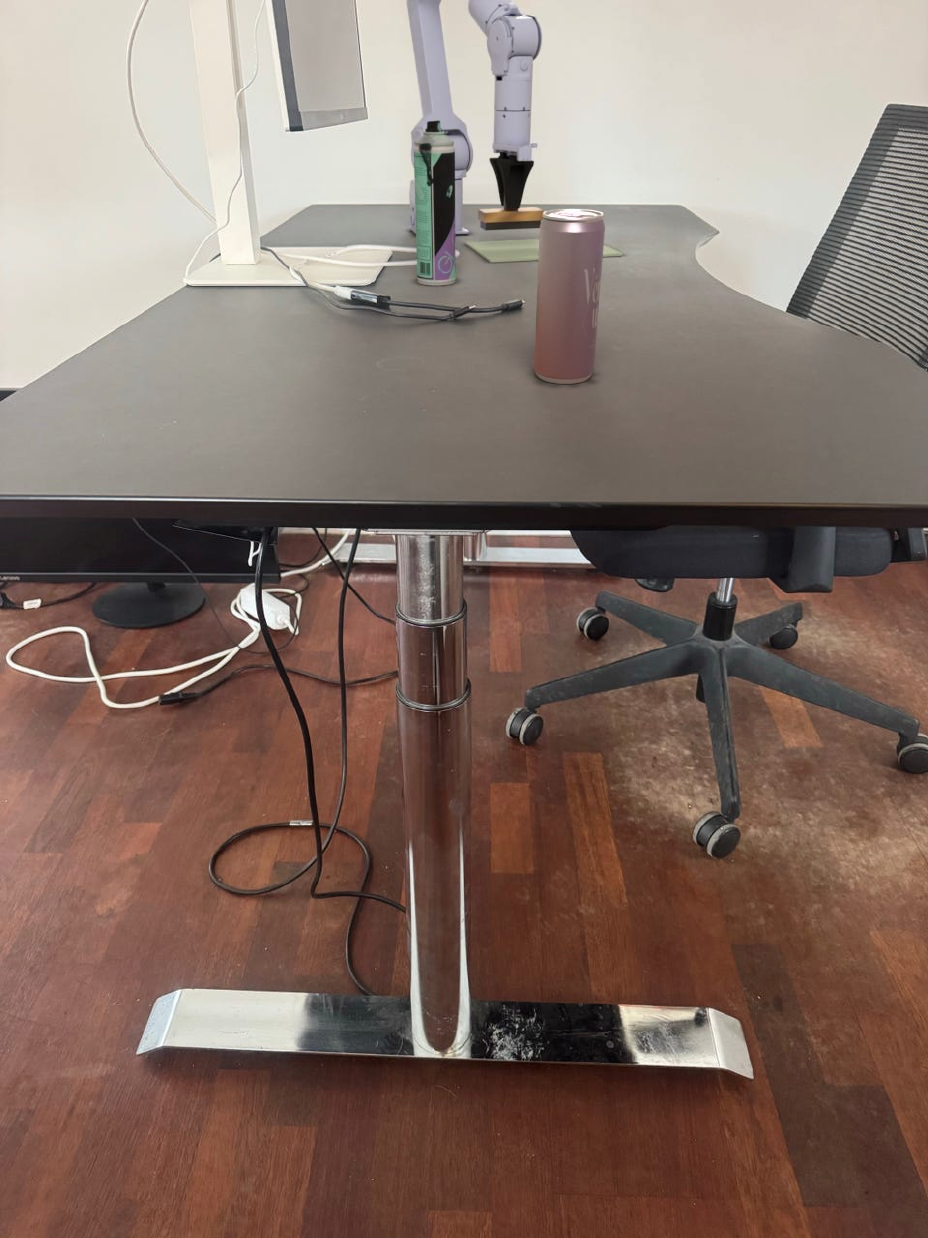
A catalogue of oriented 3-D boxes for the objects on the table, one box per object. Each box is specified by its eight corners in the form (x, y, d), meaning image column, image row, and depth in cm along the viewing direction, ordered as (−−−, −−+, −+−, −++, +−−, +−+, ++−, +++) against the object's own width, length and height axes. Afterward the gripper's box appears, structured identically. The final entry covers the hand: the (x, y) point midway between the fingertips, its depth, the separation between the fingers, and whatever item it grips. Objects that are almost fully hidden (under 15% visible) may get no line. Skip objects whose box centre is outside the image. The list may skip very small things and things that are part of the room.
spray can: (455, 285, 122) (454, 121, 111) (416, 285, 122) (411, 121, 111) (456, 277, 127) (455, 118, 116) (418, 277, 127) (414, 118, 116)
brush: (484, 230, 141) (484, 184, 137) (478, 226, 144) (478, 181, 140) (543, 228, 143) (545, 182, 139) (535, 224, 146) (537, 179, 142)
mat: (490, 262, 136) (490, 259, 135) (465, 244, 149) (465, 241, 149) (622, 255, 140) (622, 253, 140) (586, 238, 153) (587, 236, 153)
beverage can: (555, 363, 91) (564, 206, 83) (604, 374, 88) (618, 212, 80) (521, 377, 87) (527, 213, 79) (571, 389, 84) (583, 220, 76)
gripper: (552, 112, 129) (548, 212, 136) (523, 107, 141) (520, 200, 148) (506, 112, 128) (504, 214, 135) (481, 108, 140) (480, 201, 147)
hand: (510, 206), depth 142 cm, fingers closed on brush, 2 cm apart
